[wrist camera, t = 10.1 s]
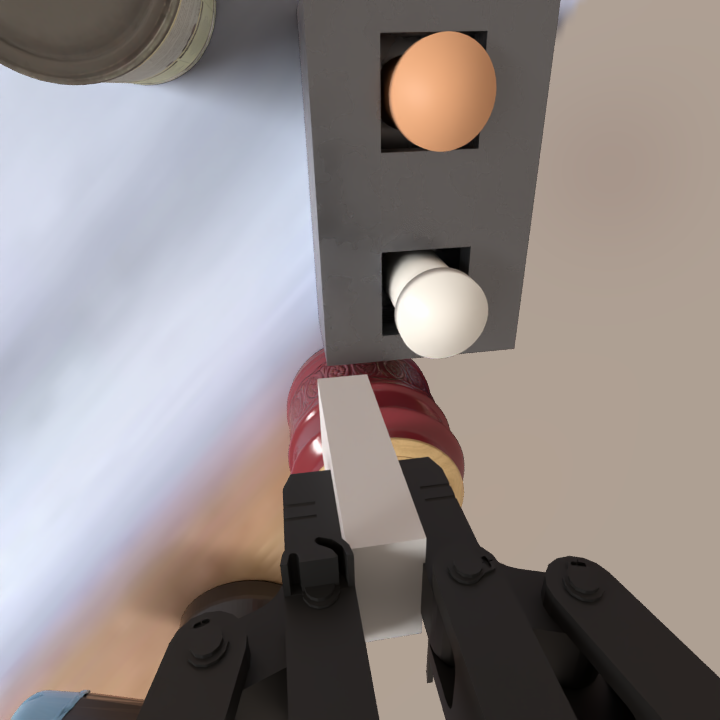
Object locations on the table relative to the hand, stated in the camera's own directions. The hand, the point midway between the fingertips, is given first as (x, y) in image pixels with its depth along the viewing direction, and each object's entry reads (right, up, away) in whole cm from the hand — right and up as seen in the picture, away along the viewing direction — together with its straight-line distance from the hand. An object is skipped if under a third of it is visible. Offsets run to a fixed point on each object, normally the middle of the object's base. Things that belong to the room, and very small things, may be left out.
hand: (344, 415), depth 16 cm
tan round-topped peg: (+4, +20, +19) cm, 28 cm away
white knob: (+4, +9, +23) cm, 25 cm away
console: (+4, +15, +23) cm, 28 cm away
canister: (0, -2, +32) cm, 32 cm away
